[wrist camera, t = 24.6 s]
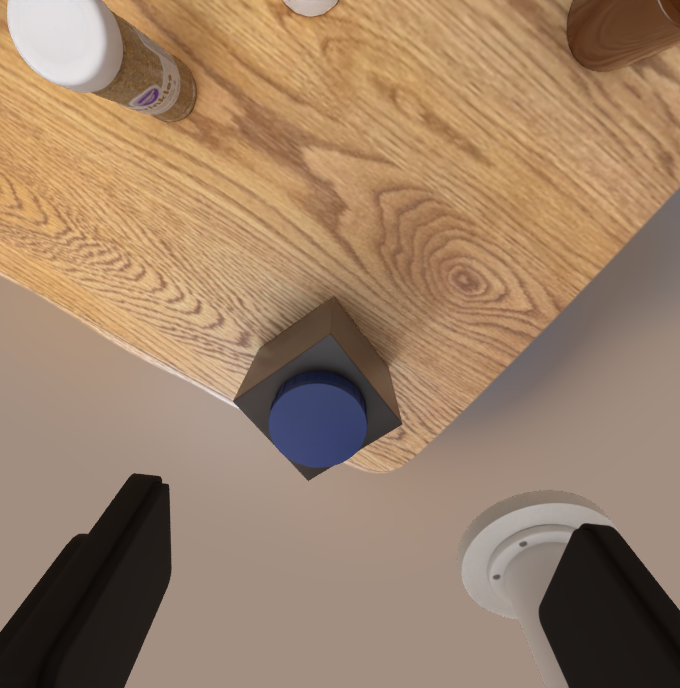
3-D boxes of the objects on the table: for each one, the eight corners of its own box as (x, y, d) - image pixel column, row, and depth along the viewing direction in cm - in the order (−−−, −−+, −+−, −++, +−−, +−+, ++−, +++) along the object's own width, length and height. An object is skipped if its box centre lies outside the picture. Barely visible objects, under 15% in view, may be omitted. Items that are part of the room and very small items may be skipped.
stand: (388, 367, 40) (403, 424, 31) (315, 414, 42) (308, 481, 33) (333, 295, 37) (330, 333, 28) (258, 349, 39) (232, 401, 30)
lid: (252, 403, 30) (246, 417, 28) (329, 352, 28) (328, 363, 27) (309, 466, 32) (308, 483, 30) (384, 422, 31) (387, 437, 29)
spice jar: (176, 135, 33) (72, 107, 20) (126, 90, 31) (-16, 31, 19) (210, 86, 31) (122, 23, 19) (160, 37, 30) (30, -64, 18)
